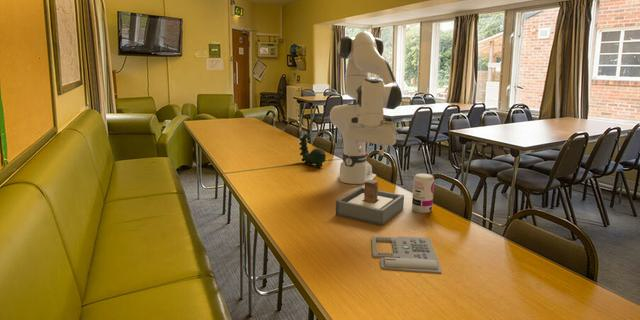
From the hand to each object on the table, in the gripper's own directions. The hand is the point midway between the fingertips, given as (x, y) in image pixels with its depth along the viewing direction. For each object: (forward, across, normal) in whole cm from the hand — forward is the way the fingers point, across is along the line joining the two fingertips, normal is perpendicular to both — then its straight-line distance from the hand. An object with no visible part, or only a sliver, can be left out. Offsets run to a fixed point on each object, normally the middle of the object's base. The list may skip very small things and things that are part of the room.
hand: (370, 153), depth 163 cm
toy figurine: (+26, +60, -49) cm, 82 cm away
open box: (+24, -2, +3) cm, 24 cm away
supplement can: (+24, -19, -11) cm, 33 cm away
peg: (+23, -2, +3) cm, 23 cm away
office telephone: (+24, -27, +31) cm, 47 cm away
